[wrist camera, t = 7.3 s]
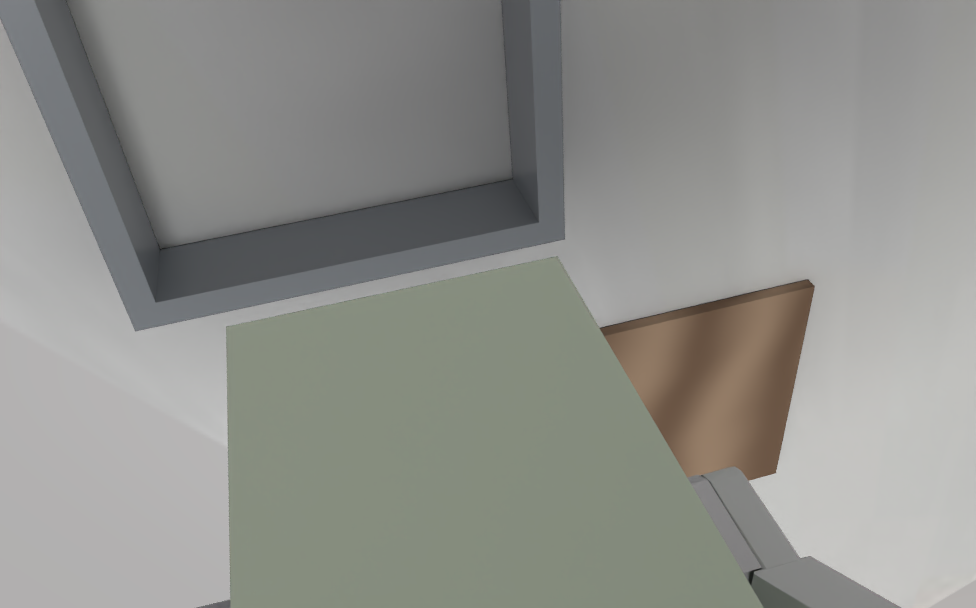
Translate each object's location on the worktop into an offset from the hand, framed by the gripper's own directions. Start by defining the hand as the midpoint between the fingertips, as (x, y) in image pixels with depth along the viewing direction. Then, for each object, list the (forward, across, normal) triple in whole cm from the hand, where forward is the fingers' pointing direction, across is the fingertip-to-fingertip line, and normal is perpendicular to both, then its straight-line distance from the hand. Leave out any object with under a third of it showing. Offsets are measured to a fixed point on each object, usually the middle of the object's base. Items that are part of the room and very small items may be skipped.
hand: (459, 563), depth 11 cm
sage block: (+3, 0, 0) cm, 3 cm away
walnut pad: (+22, -15, +23) cm, 35 cm away
